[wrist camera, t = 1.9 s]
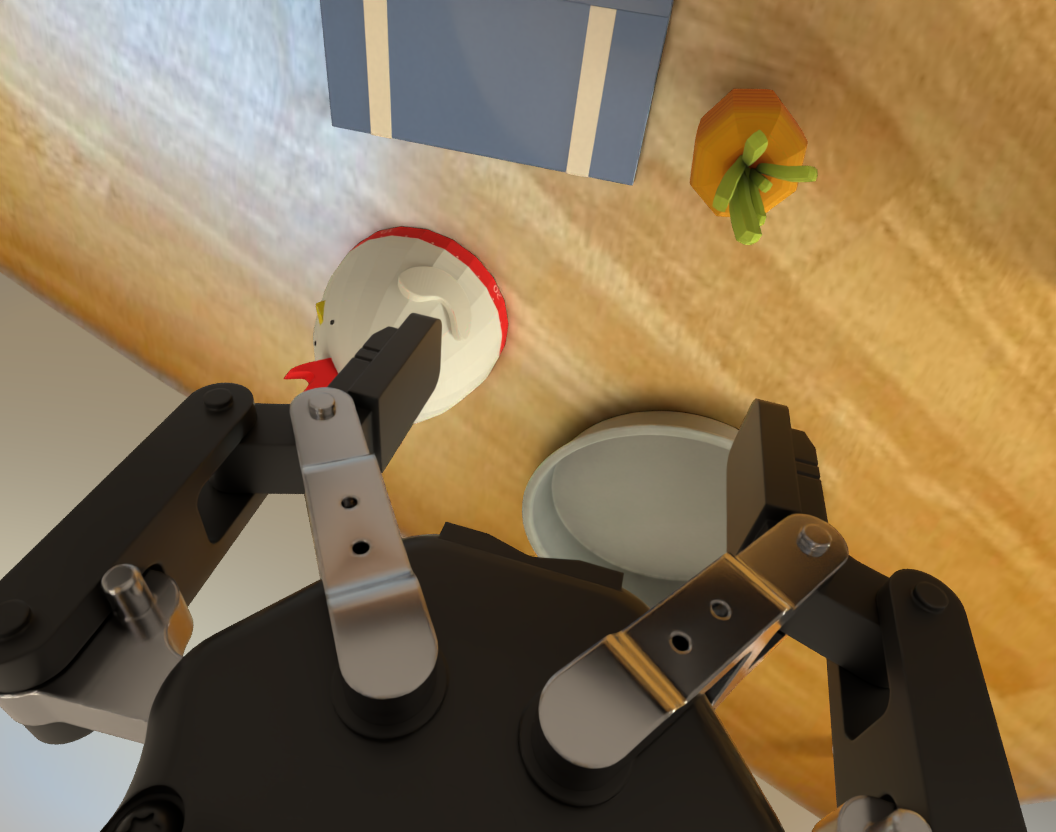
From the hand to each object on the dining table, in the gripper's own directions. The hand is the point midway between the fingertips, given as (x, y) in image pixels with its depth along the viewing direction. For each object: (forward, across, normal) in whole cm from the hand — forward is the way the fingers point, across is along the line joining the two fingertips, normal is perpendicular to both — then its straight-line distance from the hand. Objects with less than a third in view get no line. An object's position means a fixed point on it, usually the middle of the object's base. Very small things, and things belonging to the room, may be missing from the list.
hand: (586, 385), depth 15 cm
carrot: (+27, -4, -2) cm, 27 cm away
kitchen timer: (+27, +15, +17) cm, 35 cm away
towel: (+27, +11, -1) cm, 29 cm away
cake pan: (+27, -8, +30) cm, 42 cm away
